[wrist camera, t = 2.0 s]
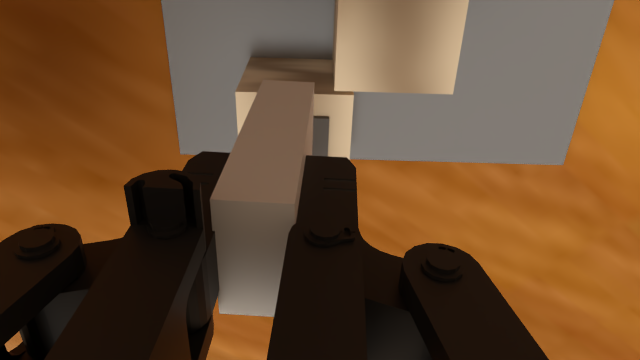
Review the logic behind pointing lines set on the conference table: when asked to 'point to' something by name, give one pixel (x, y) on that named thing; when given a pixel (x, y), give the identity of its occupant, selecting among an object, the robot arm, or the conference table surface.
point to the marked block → (328, 104)
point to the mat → (400, 108)
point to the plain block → (397, 45)
